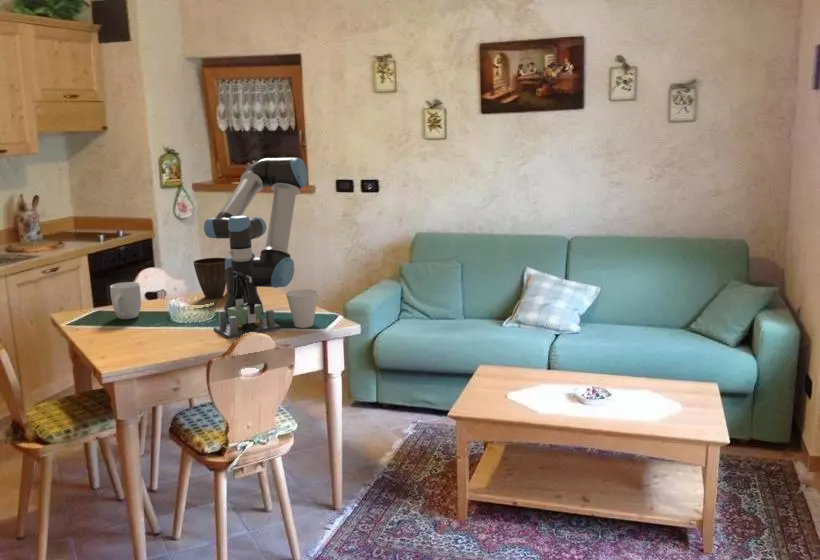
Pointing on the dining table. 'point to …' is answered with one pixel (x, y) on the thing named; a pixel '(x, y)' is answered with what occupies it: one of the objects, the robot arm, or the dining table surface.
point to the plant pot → (211, 276)
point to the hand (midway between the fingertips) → (246, 319)
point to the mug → (126, 299)
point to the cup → (302, 306)
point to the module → (244, 313)
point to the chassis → (244, 325)
